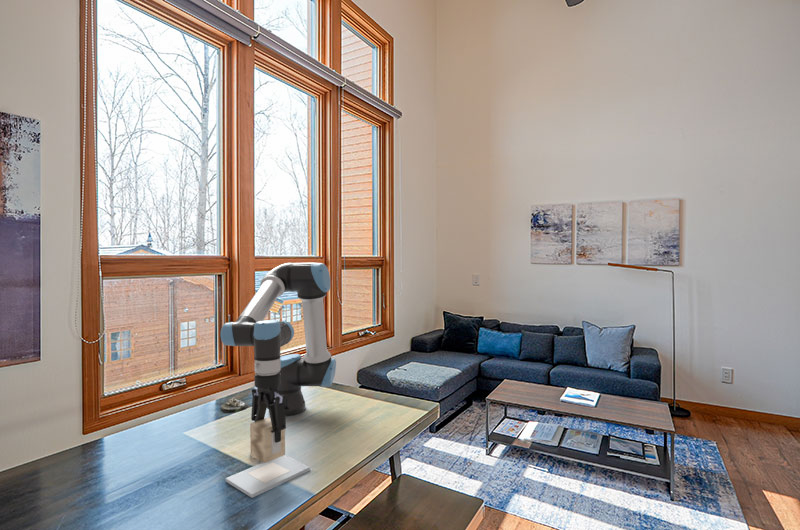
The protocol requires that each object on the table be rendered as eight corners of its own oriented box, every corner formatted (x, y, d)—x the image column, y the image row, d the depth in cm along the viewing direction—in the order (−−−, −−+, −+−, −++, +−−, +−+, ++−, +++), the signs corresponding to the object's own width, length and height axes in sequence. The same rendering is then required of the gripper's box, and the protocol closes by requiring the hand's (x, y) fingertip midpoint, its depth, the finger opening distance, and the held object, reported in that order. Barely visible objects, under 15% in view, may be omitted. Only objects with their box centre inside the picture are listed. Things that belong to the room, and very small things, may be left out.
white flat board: (225, 481, 129) (225, 477, 129) (282, 457, 144) (282, 453, 144) (252, 498, 120) (252, 494, 120) (310, 470, 135) (310, 466, 135)
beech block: (251, 456, 131) (251, 423, 131) (271, 448, 137) (271, 416, 137) (264, 463, 127) (264, 428, 127) (285, 454, 132) (284, 421, 132)
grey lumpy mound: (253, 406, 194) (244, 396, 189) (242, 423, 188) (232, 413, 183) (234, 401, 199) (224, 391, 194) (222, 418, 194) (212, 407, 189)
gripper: (238, 369, 135) (239, 443, 135) (276, 381, 122) (277, 462, 123) (259, 365, 141) (260, 436, 141) (298, 375, 128) (299, 453, 128)
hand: (268, 448), depth 132 cm, fingers closed on beech block, 7 cm apart
